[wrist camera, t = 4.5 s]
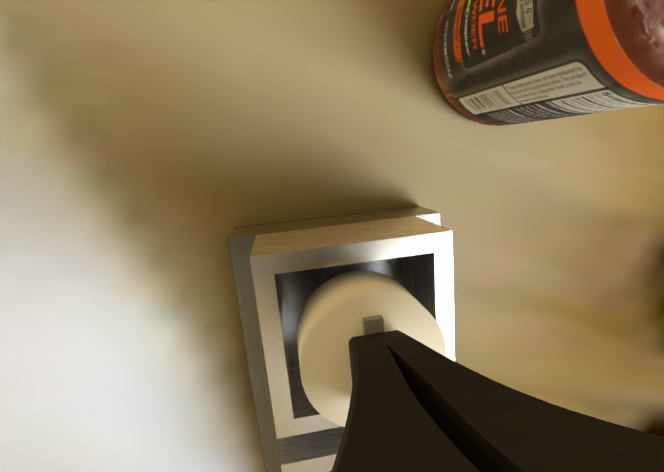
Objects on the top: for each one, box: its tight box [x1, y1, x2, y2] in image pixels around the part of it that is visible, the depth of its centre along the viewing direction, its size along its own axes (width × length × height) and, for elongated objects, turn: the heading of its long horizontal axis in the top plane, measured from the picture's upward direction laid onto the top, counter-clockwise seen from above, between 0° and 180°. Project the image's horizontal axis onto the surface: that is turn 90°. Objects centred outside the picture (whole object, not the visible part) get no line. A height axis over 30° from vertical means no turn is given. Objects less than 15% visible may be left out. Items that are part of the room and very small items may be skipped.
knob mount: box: [228, 206, 455, 472], centre depth 14 cm, size 13×8×5 cm, turn 5°
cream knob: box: [296, 270, 446, 427], centre depth 10 cm, size 4×4×2 cm
